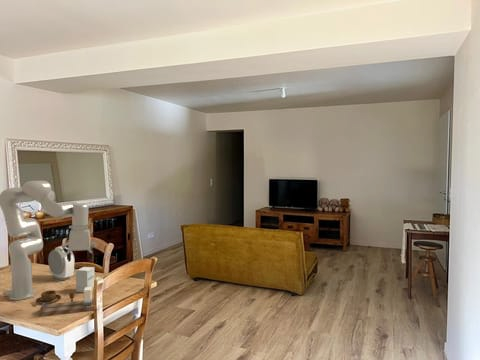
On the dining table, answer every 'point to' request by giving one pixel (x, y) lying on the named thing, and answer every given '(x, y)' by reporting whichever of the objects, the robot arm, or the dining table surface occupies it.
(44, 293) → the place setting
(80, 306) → the fader panel
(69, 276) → the alarm clock
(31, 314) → the dining table surface
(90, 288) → the fader knob
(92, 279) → the supplement box
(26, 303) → the dining table surface
